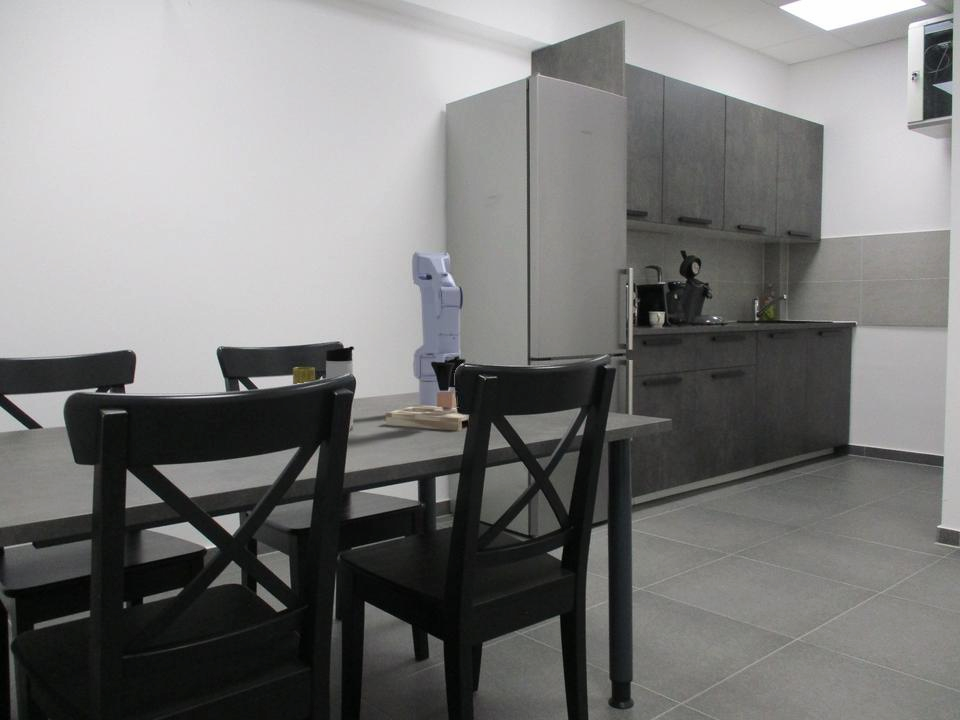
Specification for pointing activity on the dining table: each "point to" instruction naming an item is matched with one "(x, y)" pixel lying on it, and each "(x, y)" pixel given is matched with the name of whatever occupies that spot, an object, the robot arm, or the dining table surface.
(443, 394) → the keyhole peg
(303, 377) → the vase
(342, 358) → the travel mug
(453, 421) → the keyhole plate
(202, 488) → the dining table surface
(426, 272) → the robot arm
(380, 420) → the dining table surface
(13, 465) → the dining table surface
